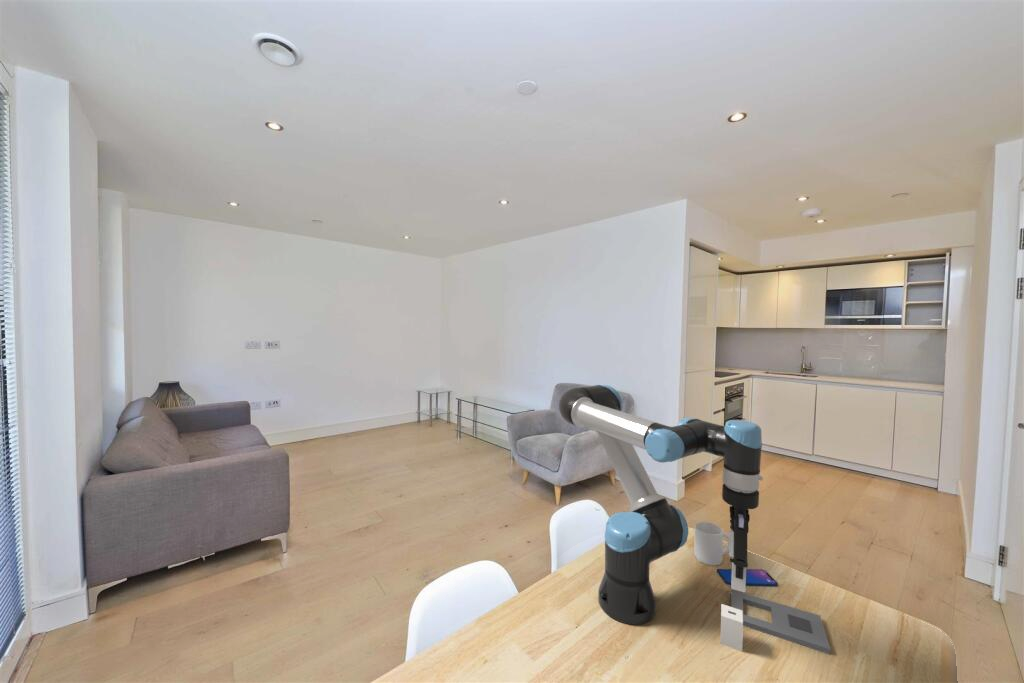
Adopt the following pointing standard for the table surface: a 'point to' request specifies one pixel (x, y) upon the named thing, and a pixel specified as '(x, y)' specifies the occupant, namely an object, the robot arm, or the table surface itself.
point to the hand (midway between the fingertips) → (736, 572)
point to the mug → (709, 543)
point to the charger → (731, 627)
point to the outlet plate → (784, 622)
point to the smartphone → (750, 577)
